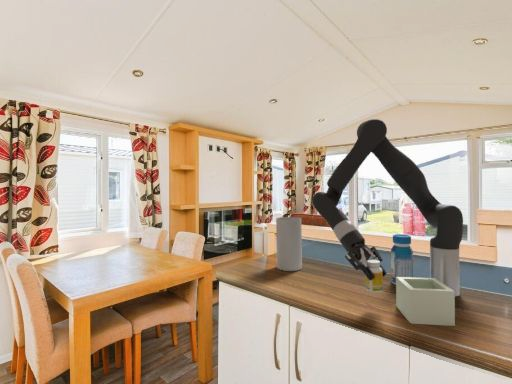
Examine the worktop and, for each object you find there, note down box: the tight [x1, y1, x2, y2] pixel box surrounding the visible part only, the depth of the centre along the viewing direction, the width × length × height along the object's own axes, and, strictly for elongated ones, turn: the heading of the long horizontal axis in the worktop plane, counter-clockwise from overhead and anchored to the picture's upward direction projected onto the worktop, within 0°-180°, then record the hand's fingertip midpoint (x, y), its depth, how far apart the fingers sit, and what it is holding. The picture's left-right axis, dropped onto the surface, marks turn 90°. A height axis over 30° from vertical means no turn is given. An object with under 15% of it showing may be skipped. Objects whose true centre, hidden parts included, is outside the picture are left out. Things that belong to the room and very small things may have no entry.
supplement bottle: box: [364, 260, 384, 293], centre depth 94 cm, size 5×5×10 cm
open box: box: [395, 276, 456, 327], centre depth 89 cm, size 12×12×10 cm
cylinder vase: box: [275, 216, 303, 272], centre depth 142 cm, size 12×12×25 cm
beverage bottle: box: [390, 233, 414, 286], centre depth 118 cm, size 8×8×20 cm
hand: (378, 277), depth 92 cm, fingers closed on supplement bottle, 5 cm apart
